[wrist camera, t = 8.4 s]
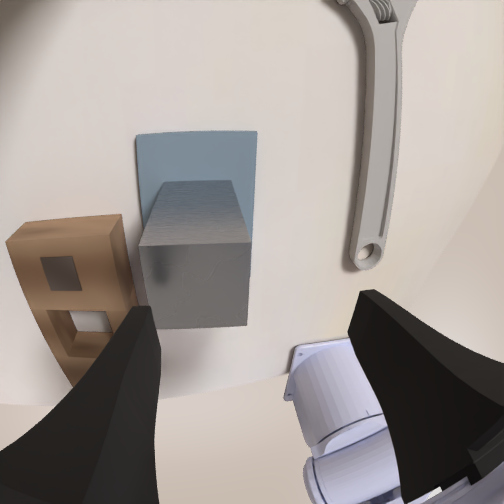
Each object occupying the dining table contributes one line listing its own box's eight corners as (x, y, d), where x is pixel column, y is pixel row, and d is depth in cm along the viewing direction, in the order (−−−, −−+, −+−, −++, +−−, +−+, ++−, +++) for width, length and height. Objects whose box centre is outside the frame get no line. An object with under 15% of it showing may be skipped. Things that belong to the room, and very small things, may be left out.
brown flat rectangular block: (156, 372, 25) (154, 398, 23) (82, 369, 24) (76, 393, 22) (121, 214, 18) (108, 235, 15) (25, 222, 16) (4, 242, 14)
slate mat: (249, 274, 21) (250, 277, 21) (152, 278, 20) (151, 281, 20) (256, 131, 16) (257, 131, 16) (137, 134, 15) (136, 135, 15)
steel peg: (229, 239, 19) (247, 325, 12) (168, 241, 19) (154, 329, 12) (231, 179, 17) (251, 242, 10) (164, 181, 17) (138, 246, 10)
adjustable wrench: (372, 259, 23) (382, 270, 22) (300, 262, 22) (307, 275, 21) (405, -32, 11) (418, -37, 9) (327, -61, 10) (337, -71, 8)
